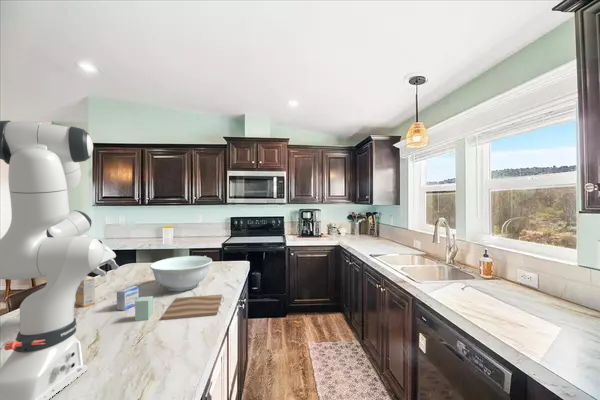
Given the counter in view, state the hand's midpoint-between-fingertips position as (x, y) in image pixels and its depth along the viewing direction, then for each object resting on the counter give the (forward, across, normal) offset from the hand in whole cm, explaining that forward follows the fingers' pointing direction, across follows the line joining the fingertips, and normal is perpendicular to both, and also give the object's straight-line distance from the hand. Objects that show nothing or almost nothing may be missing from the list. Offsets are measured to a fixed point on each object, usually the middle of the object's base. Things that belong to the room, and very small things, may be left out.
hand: (111, 271), depth 108 cm
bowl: (+28, +38, +2) cm, 47 cm away
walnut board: (+37, +6, -8) cm, 38 cm away
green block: (+23, -1, +5) cm, 24 cm away
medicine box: (+15, +13, +14) cm, 25 cm away
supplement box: (0, +21, +30) cm, 37 cm away
